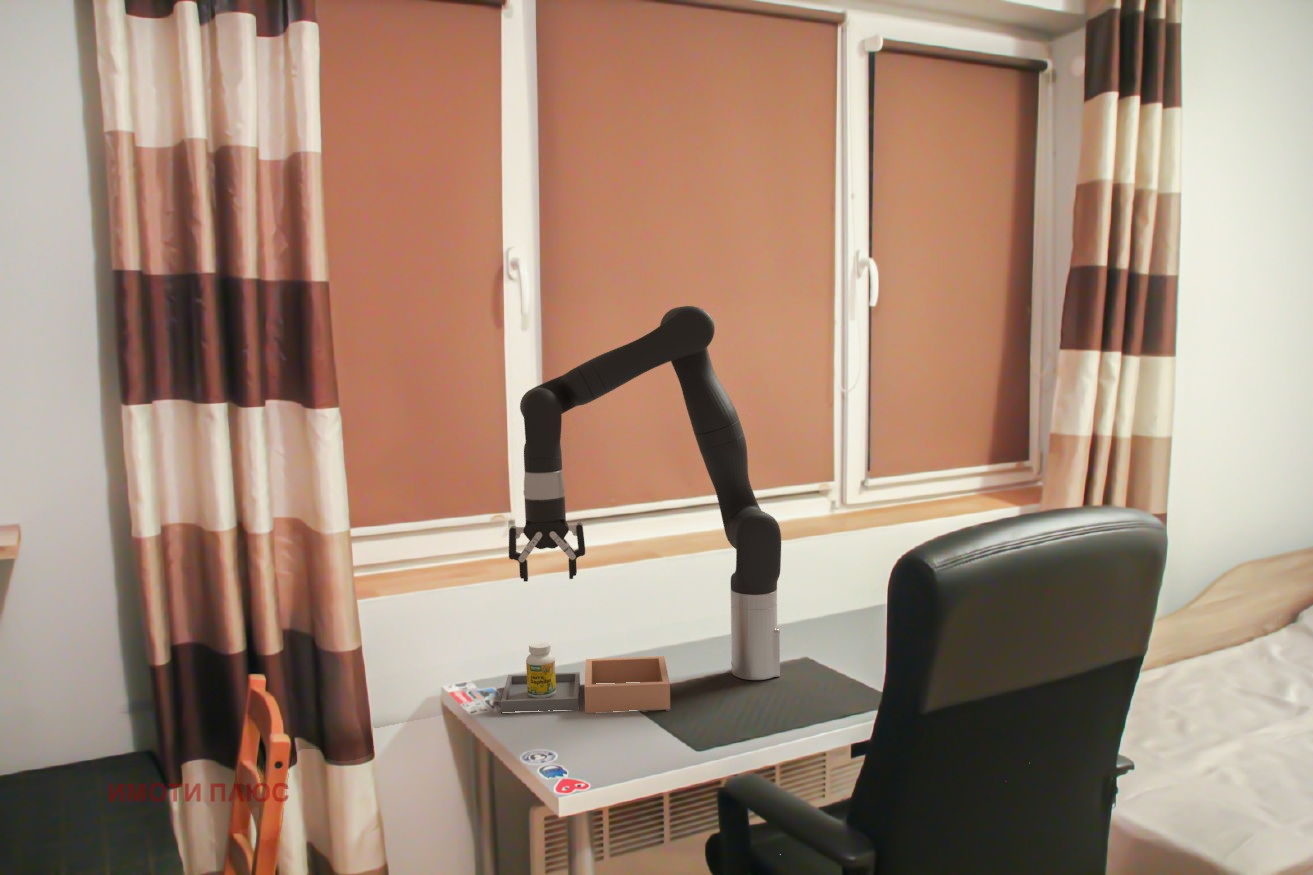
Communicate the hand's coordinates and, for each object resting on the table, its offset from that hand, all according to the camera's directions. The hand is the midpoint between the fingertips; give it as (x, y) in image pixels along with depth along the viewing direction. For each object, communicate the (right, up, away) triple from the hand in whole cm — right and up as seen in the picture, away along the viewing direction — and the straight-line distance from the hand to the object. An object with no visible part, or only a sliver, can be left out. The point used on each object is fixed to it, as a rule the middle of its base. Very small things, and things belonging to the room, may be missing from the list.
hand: (548, 579), depth 181 cm
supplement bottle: (-1, -22, 0) cm, 22 cm away
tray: (-1, -23, 0) cm, 23 cm away
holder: (+15, -22, 0) cm, 27 cm away
